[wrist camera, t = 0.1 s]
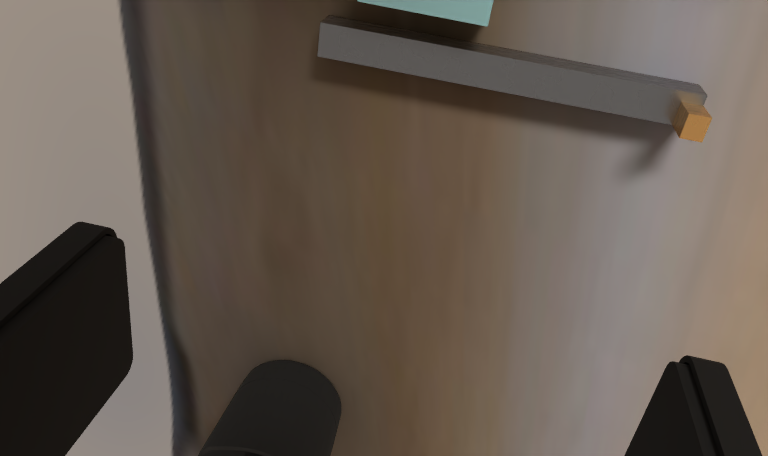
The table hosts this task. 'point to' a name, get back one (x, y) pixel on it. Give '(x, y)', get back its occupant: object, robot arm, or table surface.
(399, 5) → the block
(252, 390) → the pen holder
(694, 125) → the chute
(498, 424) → the table surface
